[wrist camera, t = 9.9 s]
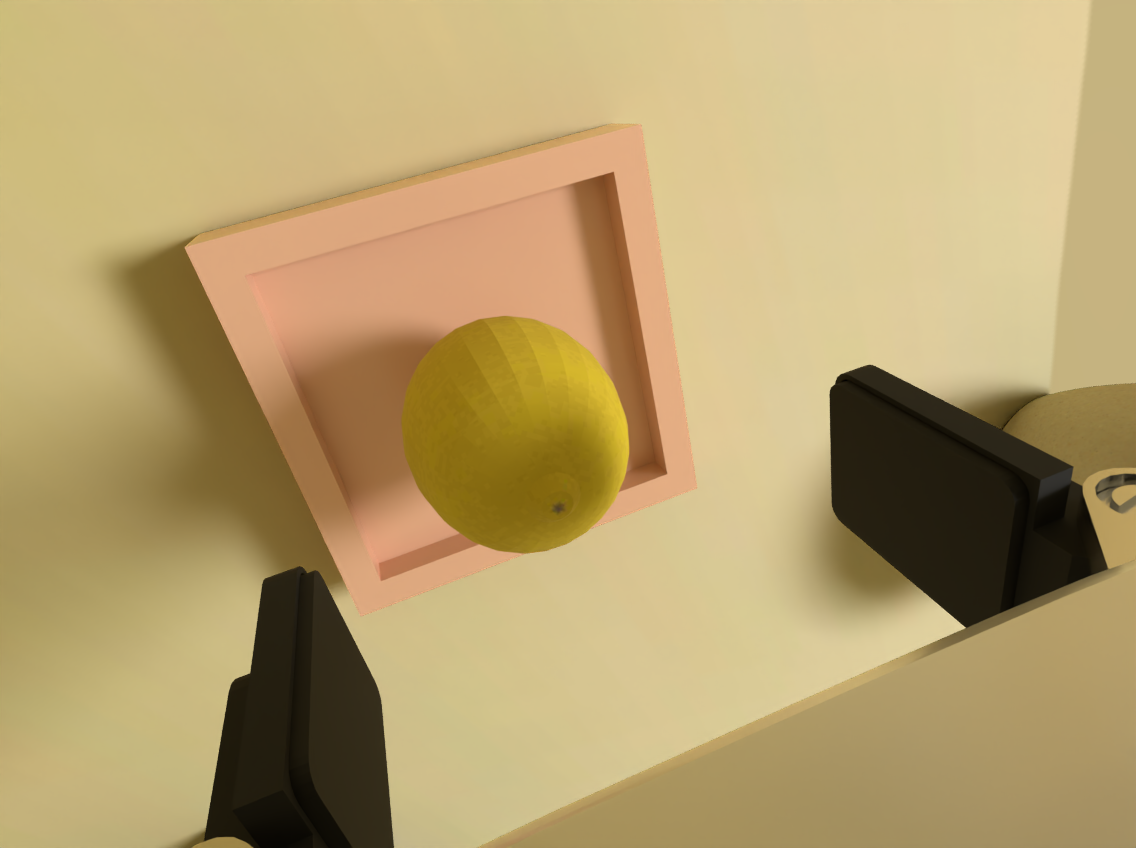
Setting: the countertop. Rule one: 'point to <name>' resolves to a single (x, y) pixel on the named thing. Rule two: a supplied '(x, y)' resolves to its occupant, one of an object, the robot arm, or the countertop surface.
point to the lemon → (515, 434)
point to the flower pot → (1082, 427)
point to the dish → (445, 331)
